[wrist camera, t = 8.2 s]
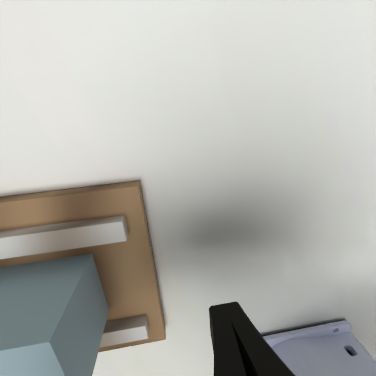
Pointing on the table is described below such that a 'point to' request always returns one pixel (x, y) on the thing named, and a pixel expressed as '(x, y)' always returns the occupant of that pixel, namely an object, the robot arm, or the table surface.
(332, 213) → the table surface
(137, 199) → the boss board
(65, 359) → the panel block
